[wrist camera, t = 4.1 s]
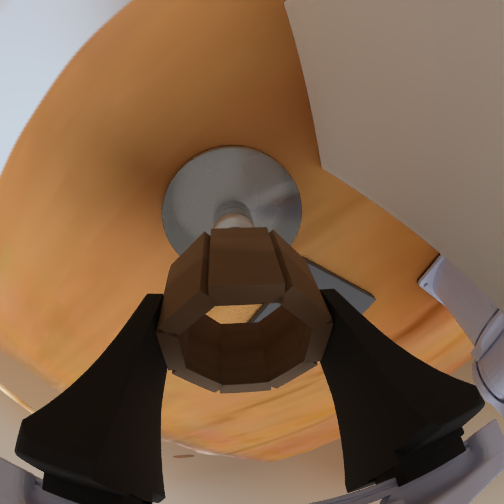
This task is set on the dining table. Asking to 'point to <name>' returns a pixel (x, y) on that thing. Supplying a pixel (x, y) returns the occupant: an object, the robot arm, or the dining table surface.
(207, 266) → the ring
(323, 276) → the mat
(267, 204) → the hub
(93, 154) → the dining table surface
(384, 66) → the milk
